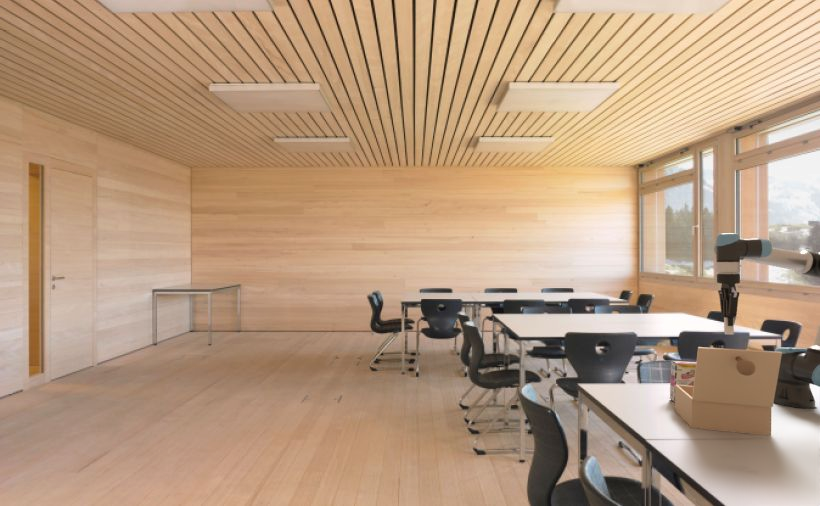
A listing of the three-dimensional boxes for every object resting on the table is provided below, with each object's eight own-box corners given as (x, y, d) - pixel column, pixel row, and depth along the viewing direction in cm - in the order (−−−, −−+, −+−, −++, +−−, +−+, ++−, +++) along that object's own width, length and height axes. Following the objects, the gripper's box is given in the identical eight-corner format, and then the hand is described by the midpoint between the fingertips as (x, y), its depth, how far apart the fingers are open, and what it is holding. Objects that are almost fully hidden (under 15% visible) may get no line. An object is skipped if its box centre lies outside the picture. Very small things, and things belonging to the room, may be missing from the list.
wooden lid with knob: (780, 351, 155) (795, 365, 146) (771, 405, 160) (785, 422, 152) (698, 346, 161) (707, 360, 152) (691, 399, 166) (700, 414, 158)
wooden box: (745, 416, 180) (745, 390, 180) (771, 435, 160) (771, 405, 160) (674, 410, 185) (675, 384, 186) (691, 427, 166) (691, 399, 166)
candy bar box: (674, 403, 195) (675, 363, 195) (669, 399, 200) (670, 360, 200) (703, 404, 194) (704, 364, 194) (697, 401, 199) (698, 361, 199)
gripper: (746, 273, 178) (747, 337, 178) (731, 272, 191) (732, 331, 190) (724, 273, 180) (725, 336, 179) (710, 272, 192) (711, 331, 192)
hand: (729, 334), depth 185 cm, fingers closed
